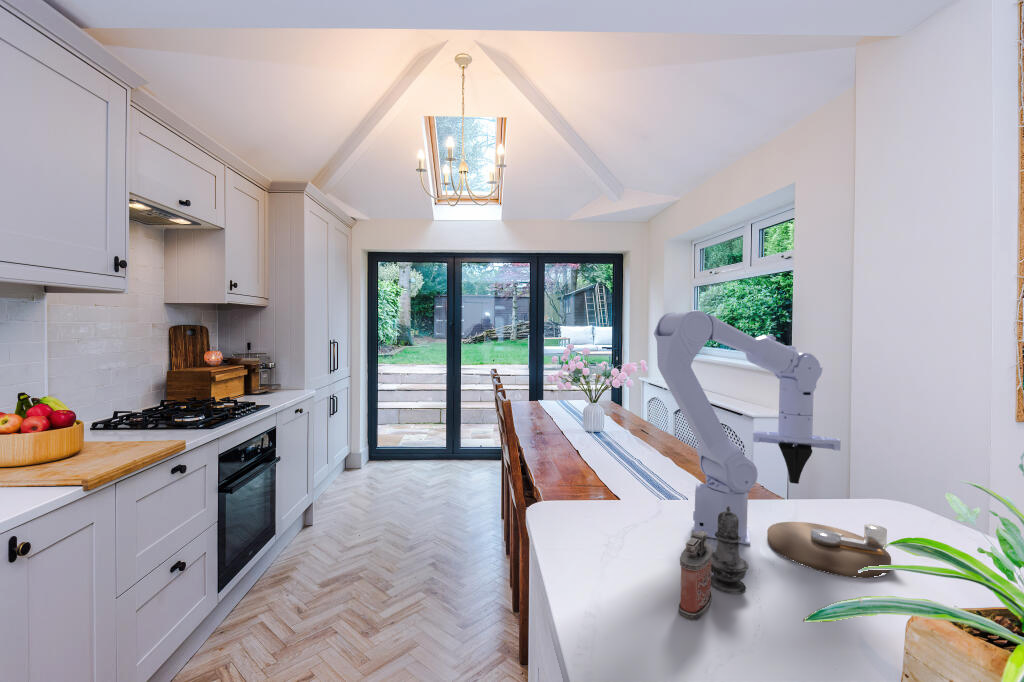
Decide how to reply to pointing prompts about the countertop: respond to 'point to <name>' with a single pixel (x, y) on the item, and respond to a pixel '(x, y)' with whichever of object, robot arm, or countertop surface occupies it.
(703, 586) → the lighter
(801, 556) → the dial plate
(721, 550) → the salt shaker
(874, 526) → the silver dumbbell
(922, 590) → the countertop surface
